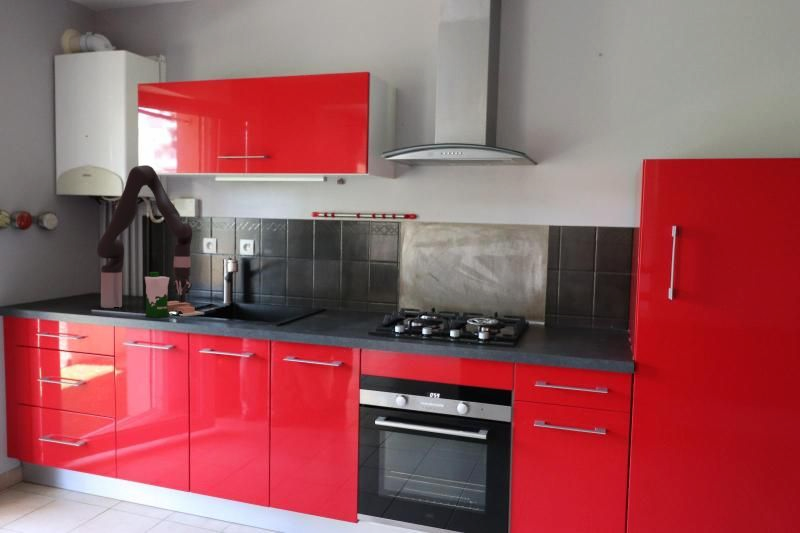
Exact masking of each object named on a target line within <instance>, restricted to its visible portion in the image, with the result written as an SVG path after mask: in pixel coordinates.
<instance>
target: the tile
mask: <svg viewBox="0 0 800 533" xmlns="http://www.w3.org/2000/svg"><path fill="white" fill-rule="evenodd" d="M175 310H177V311H181V312H182V313H183V314H186V313H194V312H195V311H196V310H195V306H191V305H190V306H174V307H173V311H175Z"/></svg>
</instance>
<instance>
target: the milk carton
mask: <svg viewBox="0 0 800 533" xmlns="http://www.w3.org/2000/svg"><path fill="white" fill-rule="evenodd" d="M144 280H145V281H144V282H145V317H148V318H153V319H157V318H159V319H160V318H165V317H166V318H167V317H169V314H168V302H169V301H168V298H169V296H168V295H169V292H168V289H169V287H168V286H169V282H170V277H167V276H160V272H159V271H150V272H149V276H144Z"/></svg>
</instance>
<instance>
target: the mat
mask: <svg viewBox="0 0 800 533" xmlns="http://www.w3.org/2000/svg"><path fill="white" fill-rule="evenodd" d="M179 315H180V316H179V317H181V316H183V317H190V316H191V317H193V316H198V315H199V316H200V315H205V312H204V311H199V310H195V312H194V313H186V314H179Z"/></svg>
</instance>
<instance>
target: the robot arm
mask: <svg viewBox="0 0 800 533" xmlns="http://www.w3.org/2000/svg"><path fill="white" fill-rule="evenodd" d="M144 186H147V187H148V188H149V189H150V191H151V192H152V194H153V196H154V199H155V200H154V201H155V204H156V208H157V210H158V212H159V213H160V215H161V216H162V218H163V219H164V220H165V222H166V223H167V226H168V228H169V230H170V233H171V234H172V235H173V236H174V237H175V238H176V239H177V243H176V244H175V245H174V249H173V250H174V251H173V252H174V253H173V256H174V257H173V276H174V277H175V281H172V283H171V284H172V287H173V288H174V292H175V293H176V294H177V295H178V301H179V303H184V302H185V303H186V295H188V294H189V292H190V290H191V288H192V286H193V284H192V283H190V282H189V281H190V279H189V277H190V276H191V264H192V263H191V244H192V239H193V230H192V229H193V228H192V227H191V225H190V224H188V223H183V221H182V219H181V214H180V212H179V210H178V209H177V208H176V207H175V205H174V204H173V202H172V201H171V199H170V198H169V196H168V194H167V192H166V190H165V188H164V186H163V184H162V182H161V180H160V178H159V175H158V174H157V172H156V170H155V169H154V168H153V167H152V166H150V165H148V164H147V165H146V164H145V165H137V166H134V167H132V169H130V171H129V173H128V176H127V180H126V183H125V187H124V189H123V191H122V194H121V196H120V199H119V201H118V204H117V205H116V206H115V207H116V208H115V210H114V213H113V214H112V217H111V219H110V222H109V224H108V226H107V227H106V230H105V231H104V233H103V235H102V236H101V239H100V240H99V242H98V245H97V255H98V257H100V258H102V259H109V261H108V262H107V263H106V264H104V265H102V266H101V268H100V270H101V271H100V272H101V274H100V276H101V278H100V280H101V282H100V283H101V285H100V286H101V288H100V307H101V308H104V309H115V308H114V307H119V308H121V307H123V302H122V300H123V278H122V277H123V275H122V274H123V267H124V258H125V246H124V243H123V241H122V240H121V239H118V237H119V236H120V235H121V234H122V233H123V232H124V231H125V230H126V229H128V228H129V227H130V226H131V225H132V223H133V222H134V220H135V218H136V215H137V214H138V210H139V209H138V208H139V207H138V197H139V193H140V192H141V190H142V189H143V187H144Z"/></svg>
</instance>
